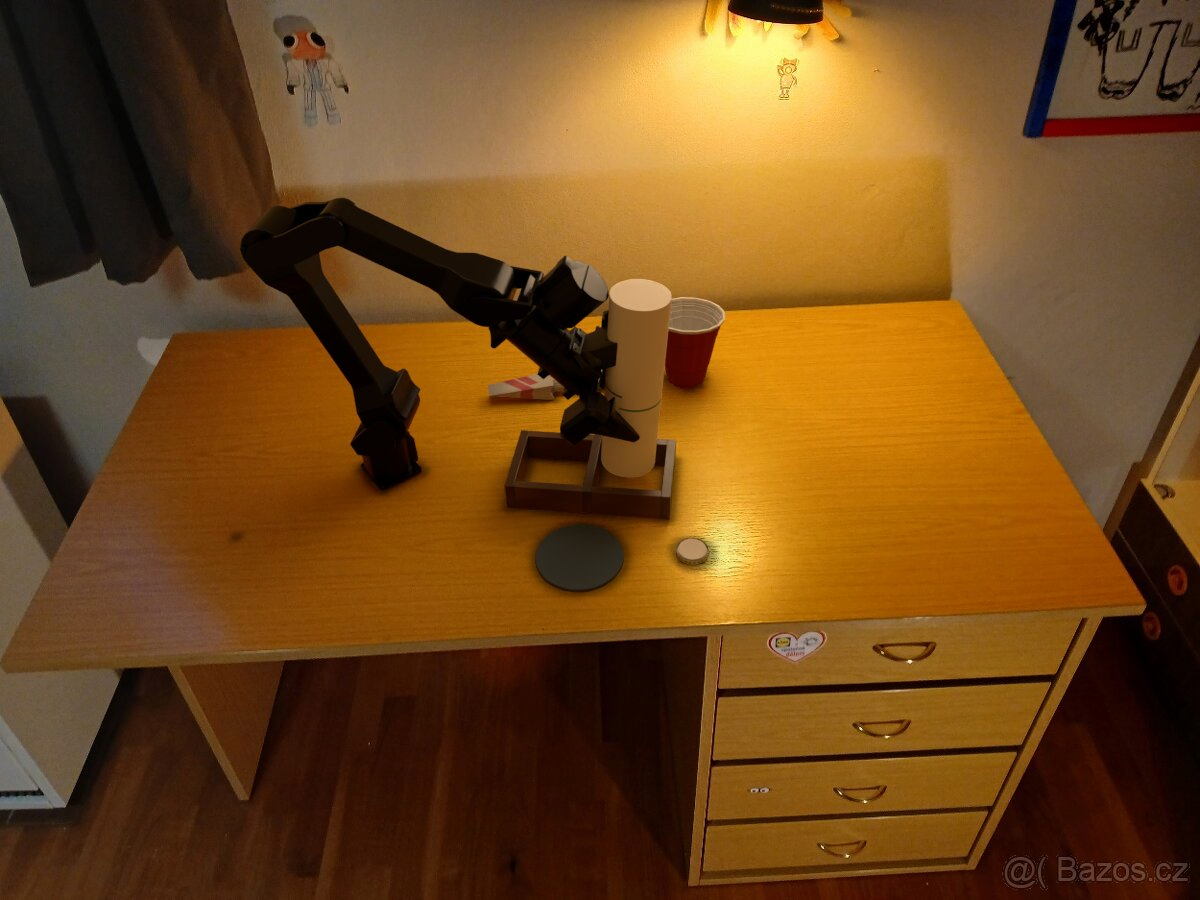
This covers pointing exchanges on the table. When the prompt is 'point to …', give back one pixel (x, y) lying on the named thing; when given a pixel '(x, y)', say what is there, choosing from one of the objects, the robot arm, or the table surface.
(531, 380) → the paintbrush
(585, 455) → the rectangular frame
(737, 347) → the table surface
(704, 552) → the bottle cap
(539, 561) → the coaster
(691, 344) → the plastic cup
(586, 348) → the robot arm
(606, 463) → the cylindrical container
